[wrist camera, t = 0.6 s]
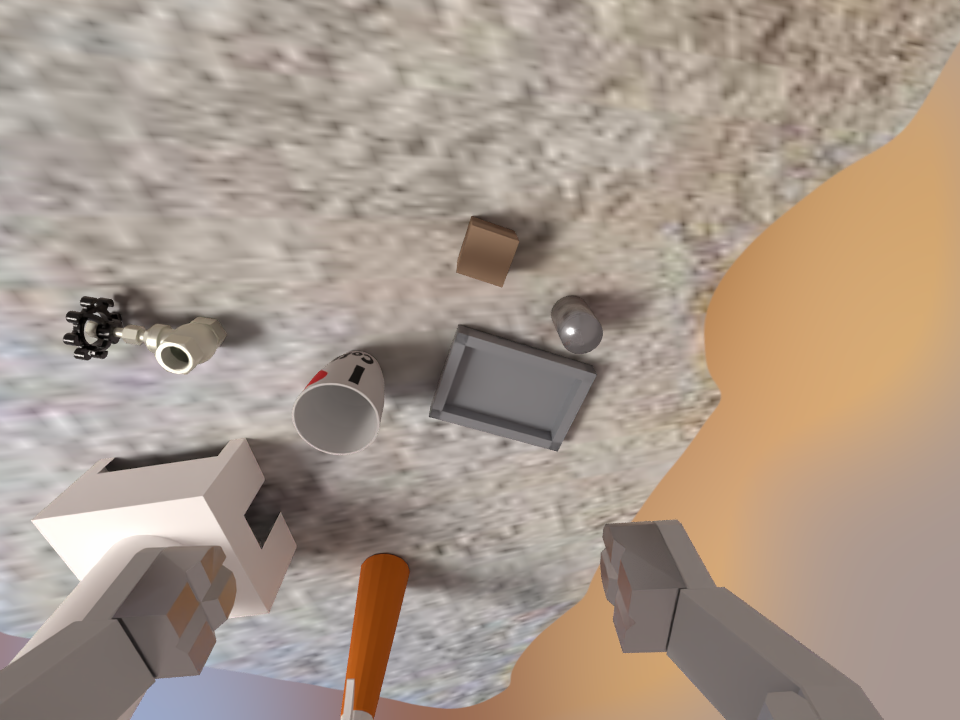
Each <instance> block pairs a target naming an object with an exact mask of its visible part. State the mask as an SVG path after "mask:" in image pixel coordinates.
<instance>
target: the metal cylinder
mask: <svg viewBox="0 0 960 720" xmlns="http://www.w3.org/2000/svg"><path fill="white" fill-rule="evenodd" d="M551 318H552V321H553V323H554V326H555V328H556V330H557V332H558V334H559V337H560V339H561V341H562V343H563V345H564V347H565V348H566V349H567V350H568V351H570V352H572V353H575V354H584V353H588V352H590V351H592V350H593V349H595V348H596V347H597V346H598V345H599V343H600V342H601V339H602V336H603V330H602V326H601V324H600V323H599V321H598V320H597V319H596V317H595V316H594V314H593V313H592V311H591V310H590V309H589V307H588V306H587V304H586V303H585V301H584V300H583V299H581V298H579V297H577V296H566V297H563V298H561V299H560V300H558V301H557V302H556V303H555V305H554V306H553V308H552V312H551Z"/></svg>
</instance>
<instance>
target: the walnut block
mask: <svg viewBox="0 0 960 720" xmlns="http://www.w3.org/2000/svg"><path fill="white" fill-rule="evenodd" d="M518 244H519V240H518V237H517V235H516V233H515V231H513V230H510V229H507V228H505V227H502V226H499V225H496V224H493V223H490V222H487V221H484V220H482V219H479V218H476V217H473V216H471V219H470V222H469V225H468V229H467V232H466V235H465V238H464V241H463V244H462V247H461V250H460V253H459V257H458V261H457V271H456V273H459V274H463V275H466V276H469V277H472V278H475V279H478V280H481V281H484V282H487V283H490V284H493V285H496V286H499V287H503V284H504V281H505V279H506V276H507V273H508V271H509V268H510V265H511V263H512V260H513V257H514V254H515V252H516V249H517V246H518Z"/></svg>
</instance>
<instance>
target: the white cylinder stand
mask: <svg viewBox="0 0 960 720" xmlns="http://www.w3.org/2000/svg"><path fill="white" fill-rule="evenodd" d="M114 458H115V457H114ZM114 458H107V459H100V460H99V461H98V462H97V463H96V464H94V465H93V466H92V467H91V468H90V469H89V470H88V471H87V472H85V473H84V474H83V475H82V476H81V477H80V478H79V479H77V480H76V481H75V482H74V483H73V484H72V485H71V486H69V487H68V488H67V489H66V490H65V491H64V492H63V493H61V494H60V495H59V496H58V497H57V498H56V499H55V500H54V501H52V502H51V503H50V504H49V505H48V506H47V507H46V508H44V509H43V510H42V511H41V512H40V513H39V514H38V515H36V516H35V517H34V518H33V519H32V520H31V521H32V522H33V523H34V525H35V526H36V527H37V528H38V530H39V531H40V532H41V533H42V535H43V536H44V537H45V538H46V540H47V541H48V542H49V543H50V544H51V546H52V547H53V548H54V549H55V551H56V552H57V553H58V554H59V556H60V557H61V558H62V559H63V561H64V562H65V563H66V564H67V565H68V567H69V568H70V569H71V570H72V572H73V573H74V574H75V575H76V577H77V578H78V579H79V580H80V583H79V584H78V585H77V586H76V588H75V589H74V590H73V591H72V592H71V593H70V594H69V596H68V597H67V598H66V599H65V600H64V601H63V603H62V604H61V605H60V606H59V607H58V608H57V609H56V611H55V612H54V613H53V614H52V615H51V616H50V617H49V619H48V620H47V621H46V622H45V623H44V624H43V626H42V627H41V628H40V629H39V630H38V631H37V632H36V634H35V635H34V636H33V637H32V638H31V639H30V641H29V642H28V643H27V644H26V645H25V646H24V647H23V649H22V650H21V651H20V652H19V653H18V654H17V656H16V657H15V658H14V659H13V660H12V661H11V662H10V664H11V663H12V662H14V661H15V660H17V659H18V658H20V657H21V656H23V655H24V654H26V653H27V652H29V651H30V650H32V649H33V648H35V647H36V646H38V645H39V644H41V643H42V642H44V641H45V640H47V639H48V638H50V637H51V636H53V635H54V634H56V633H57V632H59V631H60V630H62V629H63V628H65V627H66V626H68V625H69V624H71V623H72V622H75V621H82V620H83V619H84V618H85V616H86V615H87V614H88V613H89V611H90V610H91V609H92V608H93V606H94V605H95V604H96V603H97V601H98V600H99V599H100V598H101V596H102V595H103V594H104V593H105V591H106V590H107V589H108V588H109V586H110V585H111V584H112V583H113V581H114V580H115V579H116V578H117V576H118V575H119V574H120V573H121V571H122V570H123V569H124V568H125V566H126V565H127V564H128V563H129V561H130V560H131V559H132V558H133V556H134V555H135V554H136V553H137V552H139V551H141V550H142V549H144V548H152V547H173V546H211V545H215V546H221V547H222V549H223V551H224V553H225V555H226V559H225V561H224V562H223V564H222V565H223V566H225V567H226V568H228V569H229V570H231V571H232V572H233V574H234V577H235V579H236V588H237V592H236V597H235V602H234V606H233V608H232V610H231V613H230V615H229V617H228V618H236V617H244V616H251V615H259V614H267V613H269V612H270V610H271V607H272V605H273V602H274V600H275V598H276V595H277V593H278V591H279V588H280V586H281V583H282V581H283V579H284V576H285V574H286V571H287V569H288V567H289V564H290V562H291V559H292V557H293V555H294V552H295V550H296V548H297V545H296V543H295V541H294V539H293V537H292V535H291V533H290V530H289V528H288V526H287V524H286V522H285V520H284V518H283V516H282V514H281V512H280V514H279V516H278V518H277V520H276V522H275V524H274V526H273V528H272V530H271V532H270V534H269V536H268V538H267V540H266V542H265V544H264V546H263V548H262V549H261V548H260V546H259V544H258V542H257V540H256V538H255V536H254V534H253V532H252V530H251V529H250V527H249V525H248V523H247V521H246V519H245V517H244V514H245V513H246V511H247V509H248V508H249V506H250V504H251V502H252V501H253V499H254V497H255V496H256V494H257V492H258V491H259V489H260V487H261V486H262V484H263V482H264V481H265V478H264V476H263V474H262V472H261V469H260V467H259V465H258V463H257V461H256V459H255V457H254V455H253V453H252V450H251V448H250V446H249V444H248V442H247V440H246V438H242V439H235V440H230V441H229V442H228V444H227V445H226V446H225V447H224V449H223V450H222V451H221V453H220V454H219V455H218V456H216V457H209V458H202V459H195V460H188V461H181V462H175V463H168V464H161V465H154V466H147V467H140V468H134V469H127V470H120V471H113V472H108V471H107V469H106V468H105V466H106V465H107V464H108V463H109V462H110V461H112V460H113V459H114ZM146 691H147V690H146ZM146 691H145V692H144V693H143V694H142V695H141V696H140V697H139V698H138V699H137V700H136V701H135V702H134V703H133V704H132V705H131V706H130V707H129V708H128V709H127V710H126V711H125V712H124V713H123V714H122V715H121V716H120V717H119V718H118V719H117V720H130V719H131V717H132V715H133V713H134V712H135V710H136V708H137V706H138V705H139V703H140V701H141V700H142V697H143V696H144V694H145V693H146Z"/></svg>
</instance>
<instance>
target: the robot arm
mask: <svg viewBox="0 0 960 720" xmlns="http://www.w3.org/2000/svg"><path fill="white" fill-rule="evenodd" d="M602 538H603V541H604V544H605V547H606V548H605V549H604V550H603V551H602V552H601V560H600V567H601V577H602V583H603V587H604V591H605V594H606V598H607V600H608V601H609V602H610V603H611V604H613V605H614V616H613V622H614V625H615V628H616V632H617V635H618V638H619V641H620V645H621V648H622V651H623V653H639V652H667V655H668V656H669V658H670V659H671V660H672V661H673V662H674V663H675V664H676V665H677V666H678V667H679V669H680V670H681V671H682V672H683V673H684V674H685V675H686V676H687V677H688V678H689V679H690V681H691V682H692V683H693V684H694V685H695V686H696V687H697V688H698V689H699V690H700V691H701V693H702V694H703V695H704V696H705V697H706V698H707V699H708V700H709V701H710V702H711V704H713V706H714V707H715V708H716V709H717V710H718V711H719V712H720V713H721V714H722V716H724V718H725V719H726V720H884V719H883V718H882V717H881V715H880V714H879V712H878V711H877V710H876V708H875V707H874V705H873V704H872V703H871V701H870V700H869V698H868V697H867V696H866V694H865V693H864V691H863V690H862V688H861V687H860V686H859V685H858V684H856V683H855V682H854V681H852V680H851V679H850V678H848V677H847V676H845V675H844V674H843V673H841V672H840V671H838V670H837V669H836V668H834V667H833V666H831V665H830V664H829V663H828V662H826V661H825V660H823V659H822V658H820V657H819V656H818V655H817V654H815V653H814V652H812V651H811V650H810V649H808V648H807V647H806V646H804V645H803V644H802V643H800V642H799V641H797V640H796V639H795V638H793V637H792V636H791V635H789V634H788V633H786V632H785V631H784V630H782V629H781V628H780V627H778V626H777V625H776V624H774V623H773V622H771V621H770V620H769V619H767V618H766V617H765V616H763V615H762V614H761V613H759V612H758V611H756V610H755V609H754V608H752V607H751V606H750V605H748V604H747V603H745V602H744V601H743V600H741V599H740V598H739V597H737V596H736V595H734V594H733V593H732V592H730V591H729V590H728V589H726V588H725V587H716V585H715V583H714V581H713V580H712V578H711V576H710V574H709V572H708V571H707V569H706V567H705V565H704V563H703V562H702V560H701V558H700V556H699V555H698V553H697V551H696V549H695V547H694V546H693V544H692V542H691V540H690V539H689V537H688V535H687V533H686V531H685V529H684V528H683V526H682V524H681V523H680V522H679V521H678V520H662V521H652V522H651V521H644V522H628V523H613V524H605V526H604V528H603V536H602ZM225 559H226V555H225V553H224V551H223V549H222V547H221V546H215V545H211V546H173V547H152V548H144V549H142V550H141V551H139V552H137V553H136V554H135V555H134V556H133V558H132V559H131V560H130V561H129V563H128V564H127V565H126V566H125V568H124V569H123V570H122V571H121V573H120V574H119V575H118V576H117V578H116V579H115V580H114V581H113V583H112V584H111V585H110V586H109V588H108V589H107V590H106V591H105V593H104V594H103V595H102V596H101V598H100V599H99V600H98V601H97V603H96V604H95V605H94V606H93V608H92V609H91V610H90V611H89V613H88V614H87V615H86V616H85V618H84V619H83V620H82V621H75V622H72V623H71V624H69V625H68V626H66V627H65V628H63V629H62V630H60V631H59V632H57V633H56V634H54V635H53V636H51V637H50V638H48V639H47V640H45V641H44V642H42V643H41V644H39V645H38V646H36V647H35V648H33V649H32V650H30V651H29V652H27V653H26V654H24V655H23V656H21V657H20V658H18V659H17V660H15V661H14V662H12V663H11V664H9V665H8V666H7V667H5V668H4V669H2V670H1V671H0V720H117V719H118V718H119V717H120V716H121V715H122V714H123V713H124V712H125V711H126V710H127V709H128V708H129V707H130V706H131V705H132V704H133V703H134V702H135V701H136V700H137V699H138V698H139V697H140V696H141V695H142V694H143V693H144V692H145V691H146V690H147V689H148V688H149V687H150V686H151V685H152V684H153V683H154V682H155V679H159V678H171V677H183V676H194V675H200V673H201V671H202V669H203V667H204V665H205V663H206V661H207V659H208V657H209V655H210V653H211V651H212V649H213V647H214V645H215V643H216V636H215V632H214V630H216V629H217V628H218V627H219V626H220V625H221V624H223V623H224V622H225V621H226V620H227V619H228V617H229V615H230V613H231V610H232V608H233V606H234V602H235V597H236V592H237V588H236V579H235V577H234V574H233V572H232V571H231V570H229V569H228V568H226V567H225V566H223V565H222V564H223V562H224V561H225Z"/></svg>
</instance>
